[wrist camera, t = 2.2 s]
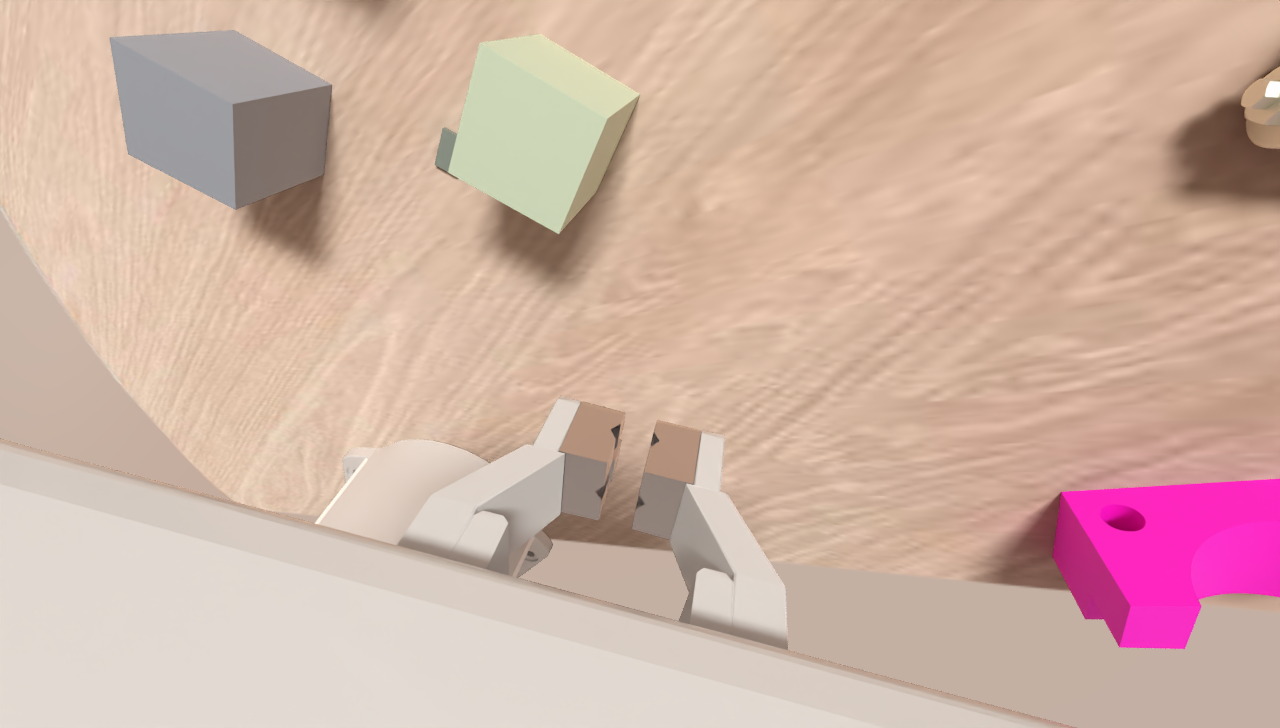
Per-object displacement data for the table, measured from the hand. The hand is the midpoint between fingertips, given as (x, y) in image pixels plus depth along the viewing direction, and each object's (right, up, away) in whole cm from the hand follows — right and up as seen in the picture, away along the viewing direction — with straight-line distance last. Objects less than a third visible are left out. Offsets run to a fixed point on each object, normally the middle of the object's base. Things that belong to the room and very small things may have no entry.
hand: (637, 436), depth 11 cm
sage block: (-3, +13, +13) cm, 19 cm away
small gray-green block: (-10, +12, +15) cm, 22 cm away
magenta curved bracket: (+34, -7, +19) cm, 39 cm away
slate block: (-19, +15, +15) cm, 28 cm away
